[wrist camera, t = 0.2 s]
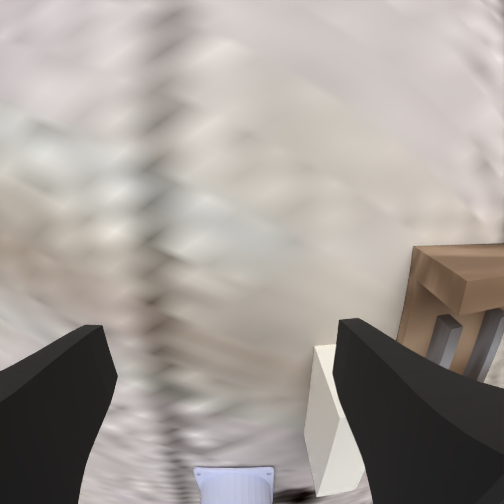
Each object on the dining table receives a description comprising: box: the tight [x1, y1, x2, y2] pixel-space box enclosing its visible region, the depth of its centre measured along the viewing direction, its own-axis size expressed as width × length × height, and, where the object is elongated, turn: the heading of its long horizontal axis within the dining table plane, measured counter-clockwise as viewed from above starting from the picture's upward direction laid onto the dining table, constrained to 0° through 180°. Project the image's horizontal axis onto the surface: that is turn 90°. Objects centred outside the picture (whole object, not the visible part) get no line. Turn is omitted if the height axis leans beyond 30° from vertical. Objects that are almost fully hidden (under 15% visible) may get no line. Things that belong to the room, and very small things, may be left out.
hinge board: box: [397, 243, 504, 383], centre depth 19 cm, size 24×12×6 cm, turn 1°
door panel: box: [304, 344, 365, 497], centre depth 19 cm, size 10×4×7 cm, turn 1°
